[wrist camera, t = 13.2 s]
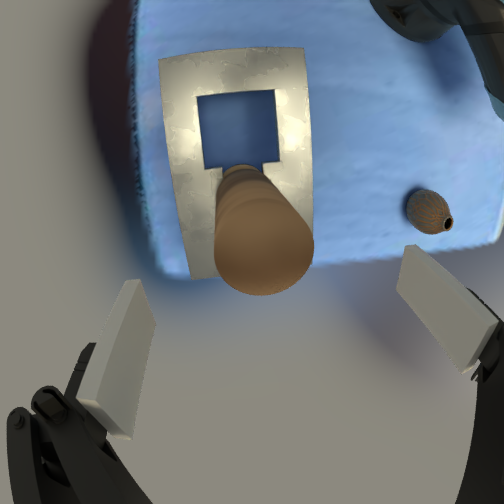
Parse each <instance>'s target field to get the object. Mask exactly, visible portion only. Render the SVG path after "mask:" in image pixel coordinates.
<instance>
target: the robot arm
mask: <svg viewBox="0 0 504 504" xmlns="http://www.w3.org/2000/svg"><path fill="white" fill-rule="evenodd" d="M370 2H371V4H372V5H373V7H374V9H375V10H376V12H377V13H378V14H379V15H380V17H381V18H382V19H383V20H384V21H385V22H386V23H387V24H388V25H389V26H390V27H391V28H392V29H394V30H395V31H396V32H398V33H399V34H400V35H402V36H404V37H406V38H408V39H410V40H412V41H416V42H429V41H434V40H436V39H439V38H440V37H441V36H442V35H443V34H444V33H446V32H447V31H448V30H450V29H451V28H452V27H453V26H455V25H460V26H461V28H462V30H463V32H464V34H465V37H466V39H467V41H468V43H469V45H470V47H471V50H472V52H473V54H474V57H475V59H476V62H477V64H478V67H479V69H480V72H481V75H482V78H483V81H484V87H485V89H486V91H487V93H488V95H489V97H490V100H491V103H492V107H493V109H494V111H495V113H496V114H497V115H498V117H499V118H501V119H502V120H503V121H504V0H370ZM396 290H397V292H398V293H399V294H400V295H401V296H402V298H403V299H404V300H405V301H406V302H407V303H408V305H409V306H410V307H411V308H412V310H413V311H414V312H415V313H416V314H417V316H418V317H419V318H420V319H421V321H422V322H423V323H424V324H425V326H426V327H427V328H428V330H429V331H430V332H431V333H432V335H433V336H434V337H435V339H436V340H437V341H438V343H439V344H440V345H441V347H442V348H443V349H444V351H445V352H446V353H447V355H448V356H449V358H450V359H451V360H452V362H453V363H454V365H455V366H456V368H457V369H458V370H459V372H460V373H461V374H463V373H464V372H466V371H468V370H470V369H472V367H473V366H474V364H475V363H476V361H477V359H479V360H480V362H481V363H480V365H479V366H478V368H477V369H476V371H475V372H474V374H473V375H472V377H471V380H473V379H474V378H475V376H476V375H478V377H477V378H476V380H475V381H477V382H478V385H477V401H476V411H475V420H474V428H473V434H472V440H471V446H470V451H469V456H468V460H467V465H466V469H465V473H464V477H463V480H462V484H461V487H460V490H459V494H458V497H457V500H456V502H455V504H504V322H503V321H502V320H501V319H500V318H499V317H498V316H497V315H496V314H495V313H494V312H493V311H492V310H491V309H490V308H489V307H488V306H487V305H486V304H484V302H483V301H482V300H481V299H479V297H478V296H477V295H476V294H475V293H474V292H473V291H471V290H470V289H468V288H466V287H465V286H463V285H462V284H461V283H460V282H459V281H458V280H457V279H456V278H455V277H453V276H452V275H451V274H450V273H449V272H448V271H447V270H446V269H445V268H443V267H442V266H441V265H440V264H439V263H438V262H436V261H435V260H434V259H433V258H431V257H430V256H429V255H428V254H427V253H426V252H424V251H423V250H422V249H421V248H420V247H418V246H417V245H416V244H415V245H408V246H405V249H404V254H403V259H402V264H401V269H400V274H399V279H398V283H397V287H396ZM155 326H156V323H155V320H154V317H153V314H152V312H151V309H150V306H149V303H148V301H147V298H146V295H145V292H144V289H143V286H142V283H141V280H140V279H135V280H126V281H125V283H124V285H123V287H122V289H121V291H120V293H119V295H118V297H117V299H116V301H115V303H114V305H113V308H112V310H111V312H110V314H109V316H108V319H107V320H106V323H105V325H104V327H103V329H102V332H101V334H100V336H99V339H98V341H97V343H89V344H88V345H87V346H86V347H85V349H83V351H82V352H81V354H80V356H79V359H78V363H77V364H76V366H75V368H74V371H73V373H72V376H71V378H70V381H69V383H68V386H67V388H66V391H65V394H64V396H63V395H62V393H61V392H60V391H59V390H58V389H57V388H56V387H54V386H45V387H42V388H40V389H39V390H38V391H37V392H36V393H35V395H34V396H33V398H32V401H31V409H32V410H33V411H34V412H35V413H36V414H34V415H32V414H31V413H29V411H27V409H25V408H23V407H17V408H15V409H14V410H13V411H12V412H10V414H9V416H8V419H7V454H8V467H9V476H10V484H11V490H12V496H13V501H14V504H153V503H152V502H151V501H150V499H149V498H148V497H147V496H146V494H145V493H144V492H143V491H142V490H141V488H140V487H139V486H138V484H137V483H136V482H135V480H134V479H133V477H132V476H131V475H130V473H129V472H128V471H127V469H126V468H125V466H124V465H123V463H122V462H121V460H120V459H119V457H118V456H117V454H116V452H115V451H114V449H113V448H112V446H111V445H110V443H109V442H108V441H107V439H106V435H107V431H108V432H109V433H110V434H111V435H112V436H113V437H114V438H120V439H128V440H132V439H133V432H134V426H135V420H136V414H137V409H138V403H139V398H140V393H141V387H142V383H143V378H144V373H145V368H146V364H147V359H148V355H149V351H150V346H151V342H152V338H153V334H154V330H155Z"/></svg>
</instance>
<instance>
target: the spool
mask: <svg viewBox="0 0 504 504" xmlns="http://www.w3.org/2000/svg"><path fill="white" fill-rule="evenodd" d="M313 254H314V240H313V235H312V233H311V230H310V228H309V226H308V225H307V223H306V222H305V220H304V219H303V218H302V217H301V216H300V214H299V213H298V212H297V211H296V210H295V208H294V207H293V206H292V205H291V204H290V202H289V201H288V200H287V199H286V198H285V197H284V195H283V194H282V193H281V192H280V191H279V190H278V188H277V187H276V186H275V185H274V184H273V183H272V182H271V180H270V179H269V178H268V177H267V176H266V175H264V174H263V173H261V172H260V171H259V170H258V169H257V168H255V167H254V166H251V165H248V164H238V165H234V166H232V167H230V168H228V169H227V170H226V171H225V172H224V173H223V180H222V181H221V183H220V184H219V186H218V189H217V193H216V207H215V231H214V261H215V265H216V268H217V270H218V272H219V274H220V276H221V277H222V278H223V279H224V281H225V282H226V283H227V284H229V285H230V286H231V287H233V288H234V289H236V290H238V291H240V292H243V293H246V294H250V295H261V296H262V295H271V294H275V293H278V292H281V291H283V290H286V289H287V288H289V287H291V286H292V285H294V284H295V283H296V282H297V281H298V280H299V279H301V277H302V276H303V275H304V274H305V272H306V271H307V269H308V268H309V266H310V264H311V261H312V258H313Z"/></svg>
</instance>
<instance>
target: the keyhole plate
mask: <svg viewBox="0 0 504 504" xmlns="http://www.w3.org/2000/svg"><path fill="white" fill-rule="evenodd" d="M158 63H159V76H160V88H161V99H162V108H163V117H164V126H165V134H166V142H167V149H168V156H169V163H170V170H171V176H172V182H173V188H174V194H175V200H176V206H177V211H178V217H179V222H180V227H181V233H182V238H183V243H184V247H185V252H186V257H187V262H188V266H189V271H190V275H191V280H195V279H204V278H212V277H220V274H219V272H218V270H217V268H216V265H215V261H214V231H215V207H216V193H217V189H218V186H219V184H220V183H221V181H222V180H223V171H222V166H218V167H210V168H205V163H204V155H203V147H202V138H201V129H200V120H199V110H198V100H197V97H204V96H211V95H220V94H229V93H241V92H255V91H273V103H274V115H275V128H276V142H277V157H278V161H265V162H261V164H262V173H263V174H264V175H266V176H267V177H268V178H269V179H270V180H271V182H272V183H273V184H274V185H275V186H276V187H277V188H278V190H279V191H280V192H281V193H282V194H283V195H284V197H285V198H286V199H287V200H288V201H289V202H290V204H291V205H292V206H293V207H294V208H295V210H296V211H297V212H298V213H299V214H300V216H301V217H302V218H303V219H304V220H305V222H306V223H307V225H308V226H309V228H310V230H311V233H312V235H313V175H312V146H311V126H310V110H309V96H308V84H307V73H306V63H305V54H304V48H296V47H252V48H235V49H223V50H213V51H205V52H197V53H191V54H184V55H179V56H173V57H168V58H163V59H158ZM311 264H312V261H311ZM311 264H310V265H311Z"/></svg>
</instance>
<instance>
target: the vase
mask: <svg viewBox="0 0 504 504" xmlns="http://www.w3.org/2000/svg"><path fill="white" fill-rule="evenodd" d="M406 211H407V216H408V219H409V221H410V222H411V224H412V225H413V226H414V227H415V228H416V229H418V230H419V231H421V232H423V233H425V234H431V235H433V234H438V233H440V232H443V231H449V230H450V229H451V228H452V226H453V218H452V216H451V214H450V210H449V207H448V204H447V202H446V201H445V200H444V198H443V197H442V196H440V195H439V194H438V193H436V192H434V191H431V190H419V191H416V192H415V193H413V194H412V195H411V197H410V198H409V200H408V202H407V207H406Z"/></svg>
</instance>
